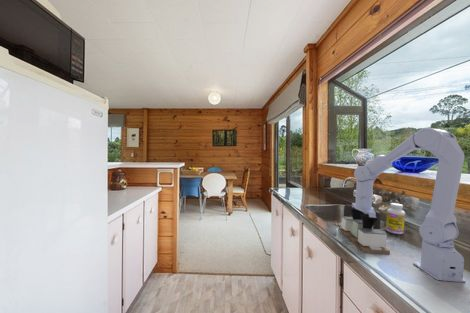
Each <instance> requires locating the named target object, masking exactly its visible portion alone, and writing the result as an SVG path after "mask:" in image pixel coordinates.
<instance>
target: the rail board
mask: <svg viewBox="0 0 470 313" xmlns="http://www.w3.org/2000/svg"><path fill="white" fill-rule="evenodd" d="M339 230H340V231H341V232H342V233H341V232H340V231H339ZM338 231H339V232H340V233H341V234H342V235H343V236H345V237H346V238H347V239H348V240H349V241H350V242H352V243H353V244H354V246H356V247H357V248H358V249H359V250H360V251H362V252H363V253H367V254H368V253H370V254H379V255H380V254H381V255H390V252H391V250H390V249H388V248H387V247H376V246H363V245H362V244H361V243H359V242H358V238H356V237H355V236H354V235H353V234H352V231H345V230H344V229H343V228H342V227H340V226H339V227H338Z"/></svg>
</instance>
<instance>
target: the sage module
mask: <svg viewBox="0 0 470 313" xmlns="http://www.w3.org/2000/svg"><path fill="white" fill-rule="evenodd" d="M358 228H363V223H362V220H354V219H353V227H352V234H353V235H354V236H355V237H356V238H358V230H359V229H358ZM372 229H373V227H372Z"/></svg>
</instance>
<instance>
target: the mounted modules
mask: <svg viewBox="0 0 470 313" xmlns="http://www.w3.org/2000/svg"><path fill="white" fill-rule="evenodd" d="M352 227H353V217H346V216H344V215H343V216H341V228H343V229H344V230H345V231H352ZM358 229H359V230H358V242H359V243H361V244H362V245H363V246H376V247H385V248H387V237H388V236H387V235H388V233H387V232H385V231H384V230H382V229H381V228H380V229H364V228H358Z"/></svg>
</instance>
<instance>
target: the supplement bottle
mask: <svg viewBox="0 0 470 313" xmlns="http://www.w3.org/2000/svg"><path fill="white" fill-rule="evenodd" d="M389 204H390V206H389V208H387V211H386V220H385V230H386V231H387V232H388V233H391V234H396V235H403V234H404V231H405V230H404V229H405V219H406V212H405V210H403V208H404V205H403V204H402V203H401V204H400V203H397V202H391V203H389Z"/></svg>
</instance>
